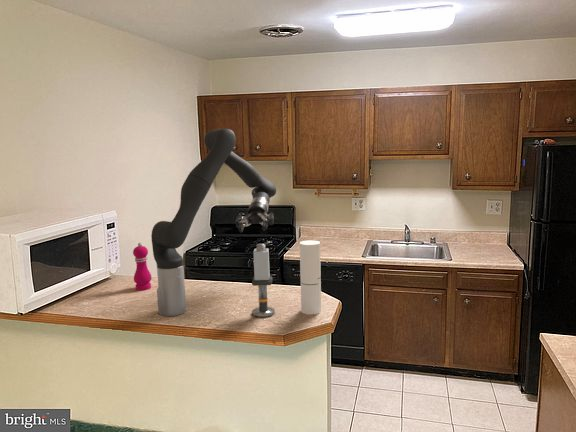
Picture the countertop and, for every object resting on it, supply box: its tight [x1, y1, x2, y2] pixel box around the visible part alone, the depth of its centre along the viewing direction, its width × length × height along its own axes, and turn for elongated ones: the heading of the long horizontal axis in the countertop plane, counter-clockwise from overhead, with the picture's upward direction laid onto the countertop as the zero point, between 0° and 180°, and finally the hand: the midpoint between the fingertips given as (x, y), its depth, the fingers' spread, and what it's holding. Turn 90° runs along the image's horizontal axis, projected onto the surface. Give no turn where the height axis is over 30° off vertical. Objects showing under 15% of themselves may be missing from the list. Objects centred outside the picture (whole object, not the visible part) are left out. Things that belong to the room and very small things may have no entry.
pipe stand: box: [251, 243, 276, 319], centre depth 158 cm, size 8×8×25 cm
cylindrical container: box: [299, 239, 322, 316], centre depth 159 cm, size 7×7×25 cm
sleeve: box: [253, 247, 271, 280], centre depth 157 cm, size 5×5×10 cm
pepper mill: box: [132, 242, 152, 291], centre depth 191 cm, size 7×7×20 cm
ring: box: [251, 275, 274, 287], centre depth 158 cm, size 7×7×2 cm
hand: (252, 229), depth 166 cm, fingers open, 8 cm apart
